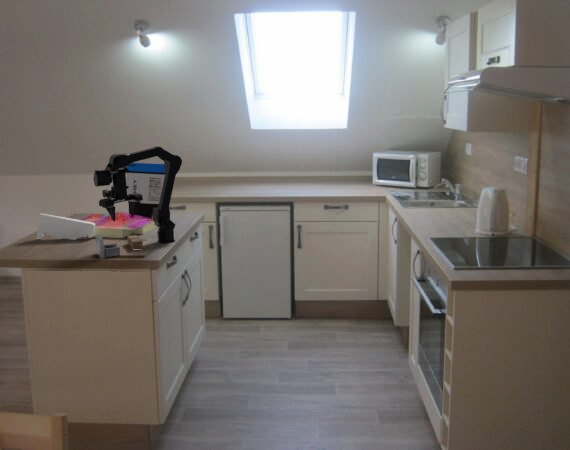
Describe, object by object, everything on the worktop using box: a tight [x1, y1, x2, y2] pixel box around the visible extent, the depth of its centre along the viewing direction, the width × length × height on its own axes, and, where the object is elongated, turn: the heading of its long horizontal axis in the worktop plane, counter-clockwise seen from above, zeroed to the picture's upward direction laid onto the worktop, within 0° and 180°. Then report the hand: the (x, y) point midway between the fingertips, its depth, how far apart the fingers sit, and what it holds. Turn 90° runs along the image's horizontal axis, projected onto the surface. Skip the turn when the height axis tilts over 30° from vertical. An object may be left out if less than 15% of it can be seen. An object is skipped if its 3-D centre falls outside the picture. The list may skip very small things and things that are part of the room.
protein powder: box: [126, 162, 165, 219], centre depth 329 cm, size 10×24×30 cm, turn 67°
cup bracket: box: [95, 234, 121, 260], centre depth 261 cm, size 8×10×8 cm
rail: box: [126, 234, 144, 250], centre depth 275 cm, size 14×4×4 cm, turn 24°
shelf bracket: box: [36, 213, 96, 241], centre depth 289 cm, size 6×25×13 cm, turn 92°
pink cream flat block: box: [79, 211, 156, 239], centre depth 304 cm, size 38×25×10 cm
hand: (123, 219), depth 272 cm, fingers open, 9 cm apart
